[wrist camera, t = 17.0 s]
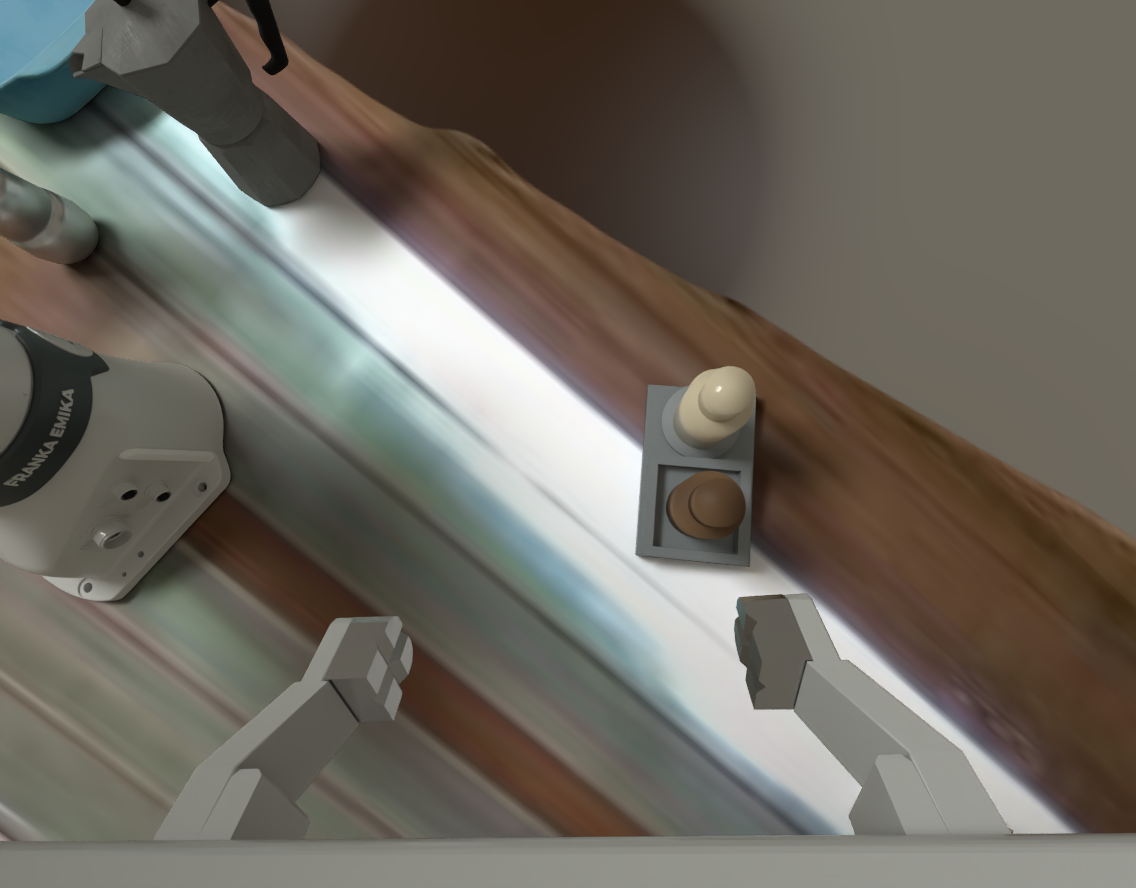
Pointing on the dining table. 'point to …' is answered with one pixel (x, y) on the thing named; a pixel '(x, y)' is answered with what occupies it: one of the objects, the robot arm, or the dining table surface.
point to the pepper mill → (706, 506)
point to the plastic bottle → (44, 222)
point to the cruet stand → (696, 460)
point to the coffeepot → (203, 87)
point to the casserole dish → (42, 59)
